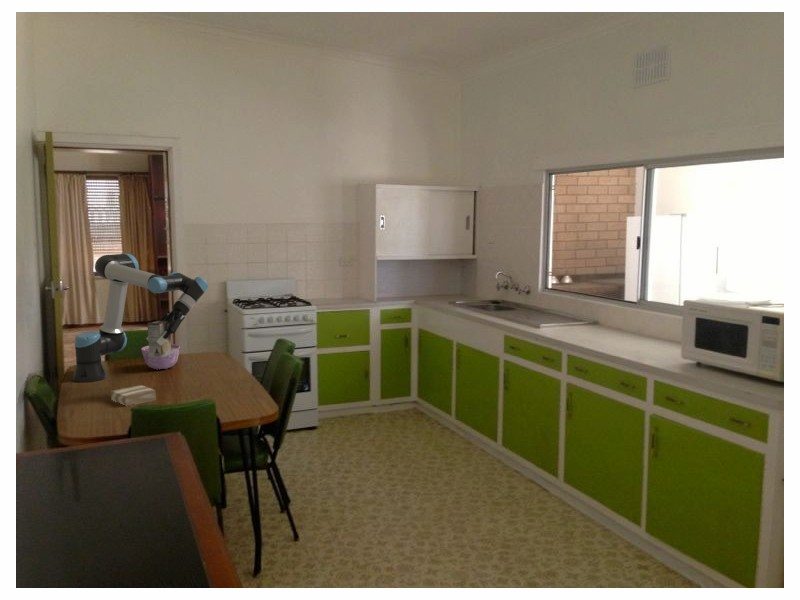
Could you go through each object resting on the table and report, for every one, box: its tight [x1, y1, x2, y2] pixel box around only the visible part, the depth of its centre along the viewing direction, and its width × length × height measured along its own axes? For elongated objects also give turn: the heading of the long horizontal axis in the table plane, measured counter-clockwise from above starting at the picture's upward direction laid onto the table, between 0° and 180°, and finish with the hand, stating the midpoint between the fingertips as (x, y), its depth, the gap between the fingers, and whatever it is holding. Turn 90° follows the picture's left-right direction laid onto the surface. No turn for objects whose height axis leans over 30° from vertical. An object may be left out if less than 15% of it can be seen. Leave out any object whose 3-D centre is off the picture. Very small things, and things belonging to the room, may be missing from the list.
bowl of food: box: [140, 343, 181, 371], centre depth 365 cm, size 20×20×12 cm
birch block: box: [110, 384, 157, 407], centre depth 303 cm, size 14×14×5 cm
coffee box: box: [147, 320, 172, 358], centre depth 313 cm, size 9×6×16 cm
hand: (153, 342), depth 311 cm, fingers closed on coffee box, 10 cm apart
